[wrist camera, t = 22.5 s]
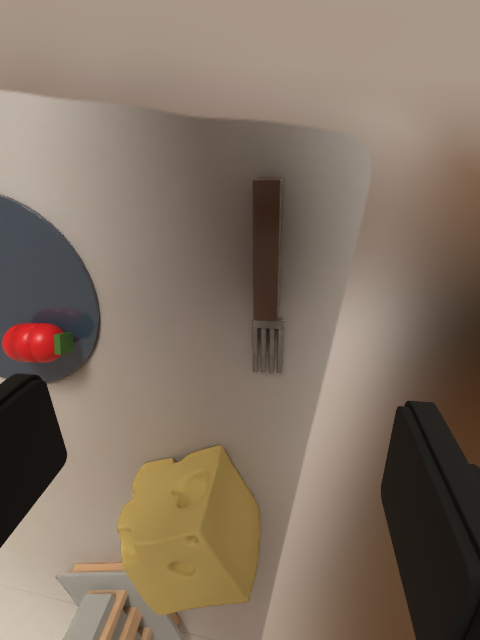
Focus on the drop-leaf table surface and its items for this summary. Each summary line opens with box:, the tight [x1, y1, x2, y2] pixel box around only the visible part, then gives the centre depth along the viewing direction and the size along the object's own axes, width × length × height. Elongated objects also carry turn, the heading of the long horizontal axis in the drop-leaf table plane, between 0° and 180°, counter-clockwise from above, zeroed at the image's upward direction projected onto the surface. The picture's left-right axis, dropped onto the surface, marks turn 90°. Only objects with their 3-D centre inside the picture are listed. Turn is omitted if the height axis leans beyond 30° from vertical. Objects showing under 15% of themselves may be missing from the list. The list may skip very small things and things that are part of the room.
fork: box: [253, 178, 284, 373], centre depth 27 cm, size 3×16×3 cm, turn 1°
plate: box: [0, 195, 99, 382], centre depth 33 cm, size 19×19×1 cm
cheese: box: [117, 445, 261, 615], centre depth 35 cm, size 10×11×10 cm
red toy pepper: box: [2, 323, 73, 363], centre depth 32 cm, size 4×6×4 cm
